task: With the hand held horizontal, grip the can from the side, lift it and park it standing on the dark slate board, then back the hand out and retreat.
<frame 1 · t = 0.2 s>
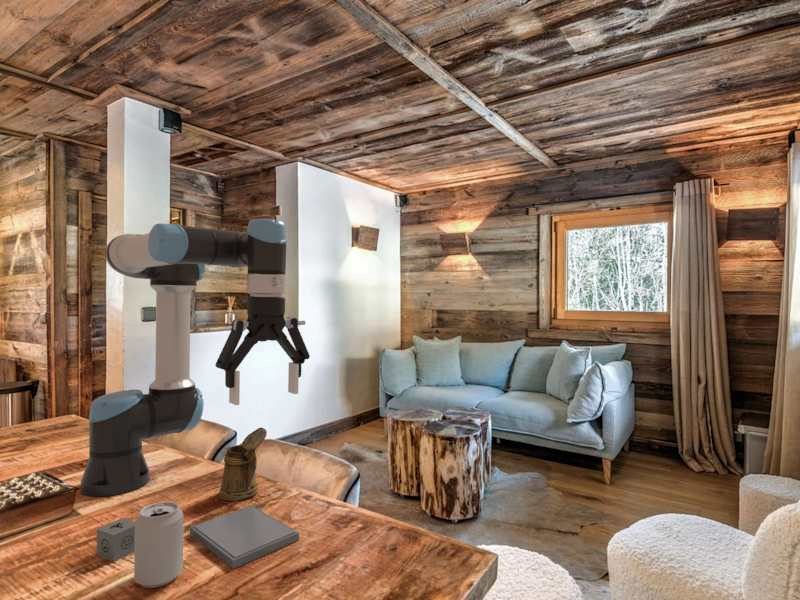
hand: (265, 398, 98), 28 cm above the table, tool pointing down, fingers open, 13 cm apart
wooden mug: (243, 497, 115), on the table
dice cube: (118, 553, 89), on the table
can: (159, 578, 82), on the table
slate board: (243, 537, 95), on the table
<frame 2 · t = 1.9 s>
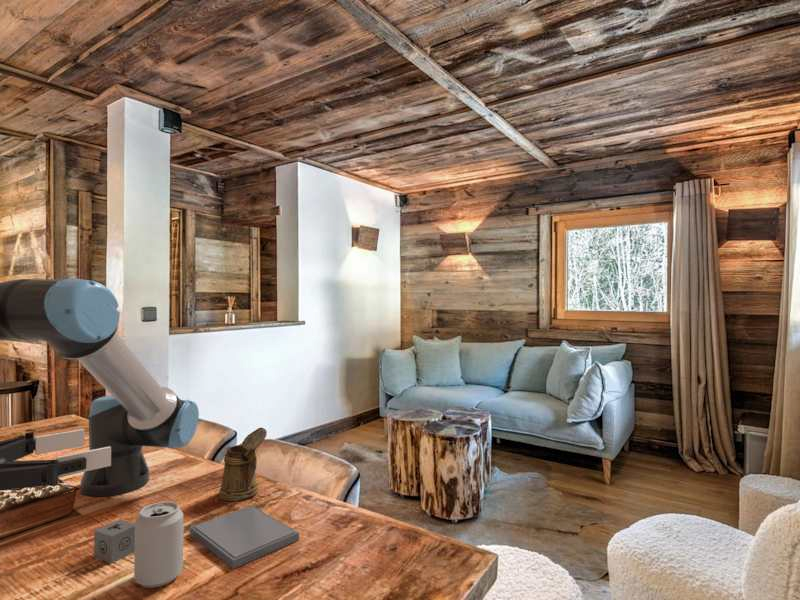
hand: (96, 446, 74), 25 cm above the table, tool horizontal, fingers open, 13 cm apart
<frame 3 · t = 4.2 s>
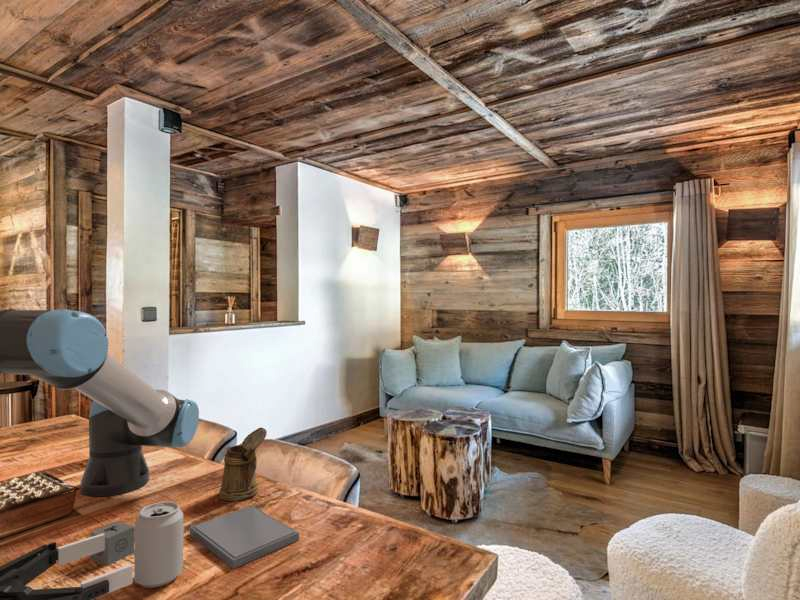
hand: (117, 556, 76), 6 cm above the table, tool horizontal, fingers open, 13 cm apart
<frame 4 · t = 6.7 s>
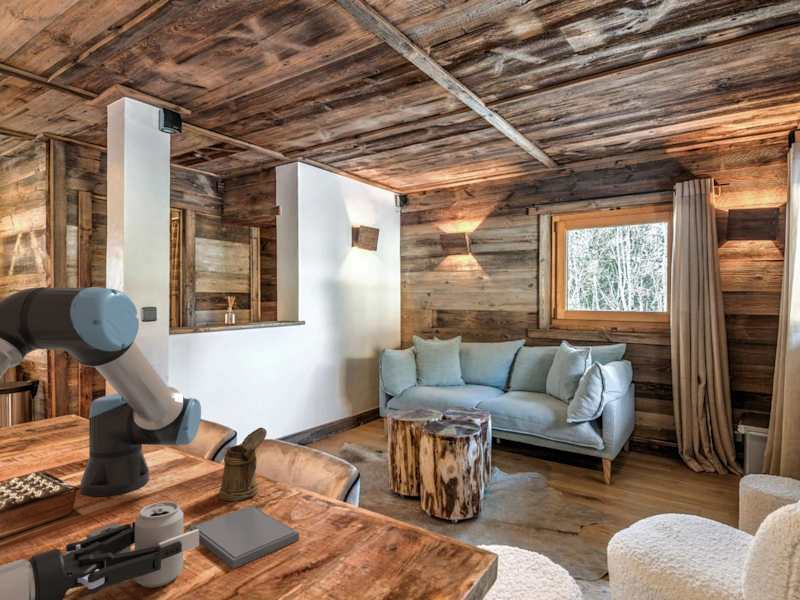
hand: (187, 529, 85), 7 cm above the table, tool horizontal, fingers closed on can, 7 cm apart
can: (159, 578, 82), on the table, touching gripper
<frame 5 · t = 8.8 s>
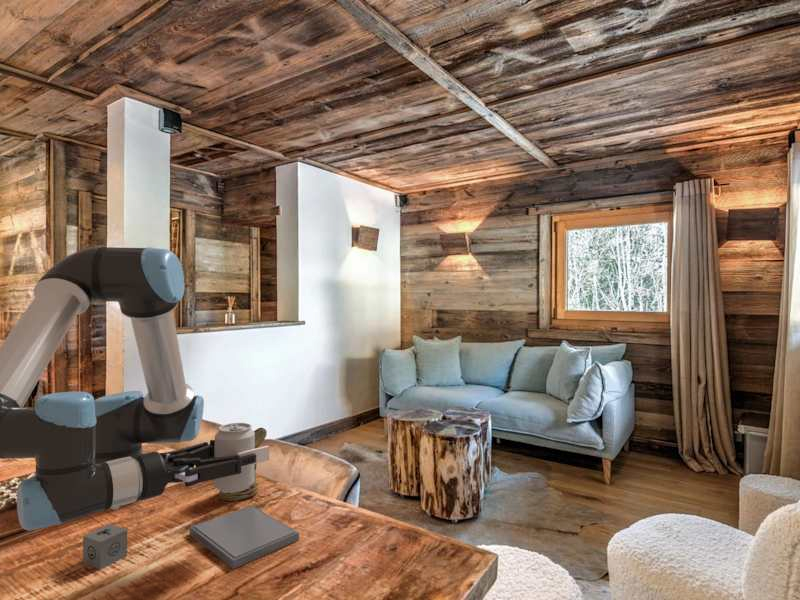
hand: (257, 448, 97), 18 cm above the table, tool horizontal, fingers closed on can, 7 cm apart
can: (234, 487, 93), point 11 cm above the table, touching gripper
when the fingers open (9 cm above the table, at t = 11.0 s): can drops 1 cm, resting on slate board.
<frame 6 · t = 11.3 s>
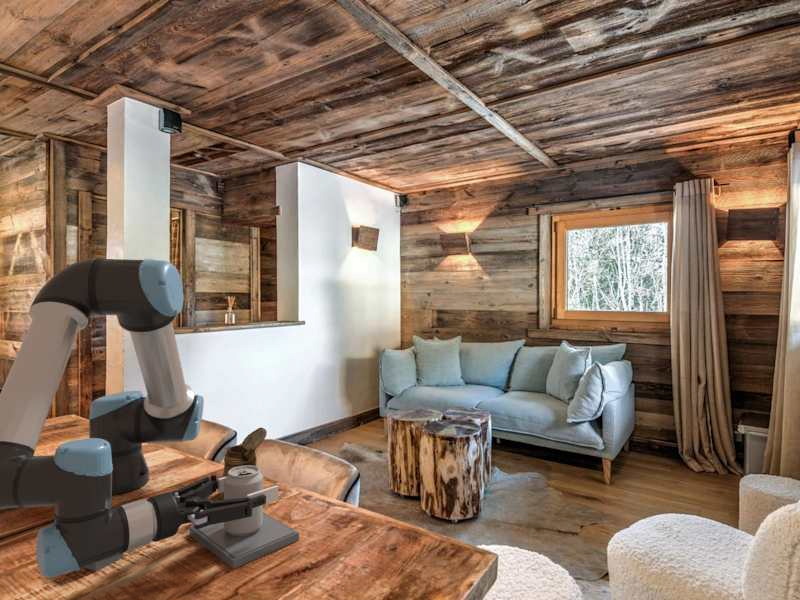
hand: (261, 484, 98), 9 cm above the table, tool horizontal, fingers open, 11 cm apart
can: (243, 529, 95), point 1 cm above the table, touching slate board
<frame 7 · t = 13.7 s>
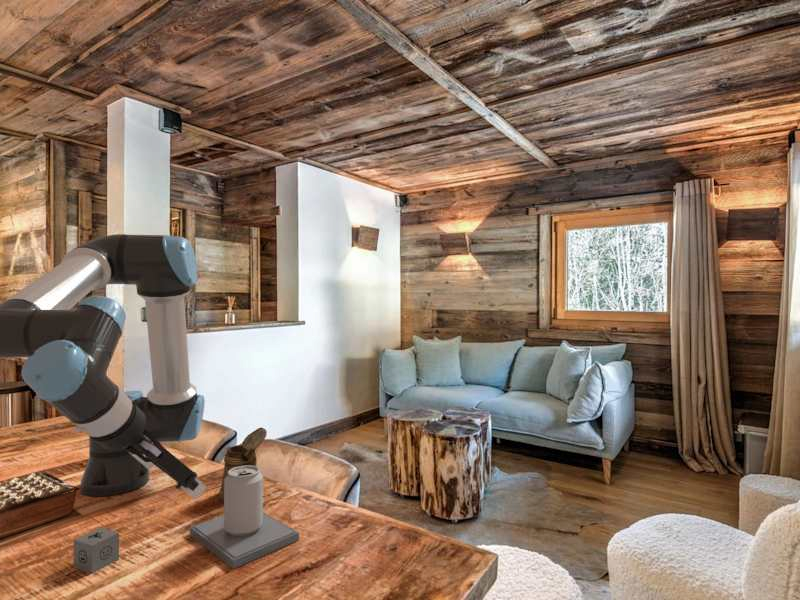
hand: (176, 477, 90), 14 cm above the table, tool tilted 45°, fingers open, 13 cm apart
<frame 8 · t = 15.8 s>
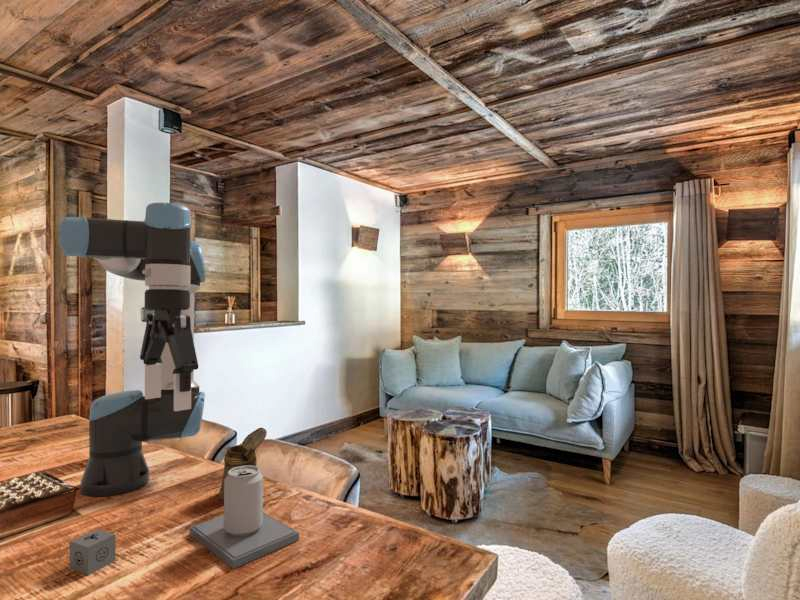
hand: (166, 403, 87), 29 cm above the table, tool pointing down, fingers open, 13 cm apart
at the end: can inside the target area on the slate board (0.1 cm from its centre), point 1.5 cm above the slate board's base; can tilted 0°; the gripper is holding nothing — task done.
